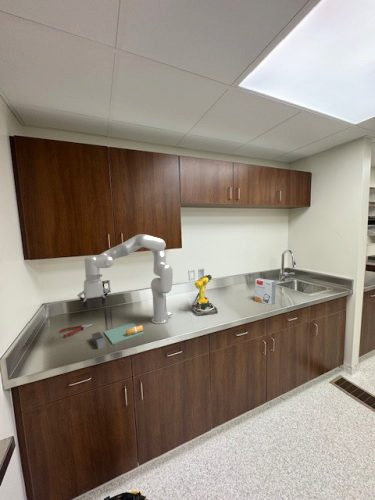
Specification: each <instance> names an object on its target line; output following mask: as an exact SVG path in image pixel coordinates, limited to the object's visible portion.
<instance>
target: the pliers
mask: <svg viewBox="0 0 375 500" xmlns="http://www.w3.org/2000/svg"><path fill="white" fill-rule="evenodd" d="M93 326H94V324H93V323H87V324H83V325H81V324H79V325H77V326H76V325H75V326H69V327H65V328H61V329H59V333H60V334H62V333H64V334H63V335H62V337H63V338H64V339H65V338H68V337H72V336H74V335H75V334H77V333H79V332H81V331H84V330H85V329H88V328H90V327H93ZM68 331H70V332H68ZM65 332H67V333H65Z"/></svg>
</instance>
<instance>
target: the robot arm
mask: <svg viewBox="0 0 375 500" xmlns="http://www.w3.org/2000/svg"><path fill="white" fill-rule="evenodd" d="M166 247H167V245H166V242H165V240H164V239H162V238H159V237H155V236H152V235H149V234H146V233H143V234H142V233H139V234H136V235H134V236H132V237H131V238H129V239H127V240H126V241H124V242H122V243H120V244H117V245H116V246H114V247H111V248H109V249H107V250H105V251H103V252H102V253H100V254H99V255H96V256H95V255H92V256H86V257H85V258H84V270H85V271H84V272H85V273H84V274H85V280H84V281H83V291H81V292H79V293H78V294H77V297H78V298H79V300H80V301H82V303H83V307H84V308H85V309H88V305H87V304H88V303H87V299H90V298H94V297H100V296H101V304H102V305H105V303H106V298H107V295H108V294H109V292H110V289H109V288H105V287H104V286H103V281H102V279H101V277H103V274H101V273H100V269H109V268H110V267H112V266H113V265H114V260H116V259H118V258H122V257H128V256H129V255H131V254H132V253H134V252H136V251H138V250H139V249H141V248H146V249H149V251H151V252H152V254H153V274H154V275H155V276H157V277H154V278H153V279H152V280H151V282H150V288H151V293H152V308H153V309H152V310H153V317H152V318H151V322H152V323H153V324H156V325H157V324H158V325H159V324H160V325H162V324H166V323H168V322H169V321H170V317H171V316H173V312H167V294H168V293H170V292H171V291H172V287H173V274H174V273H173V268H172V266H171V265H170V264H169V263H167V262H166V261H167V259H166V258H167V256H166V252H165V249H166ZM104 291H105V292H104ZM82 295H83V297H82Z"/></svg>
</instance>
